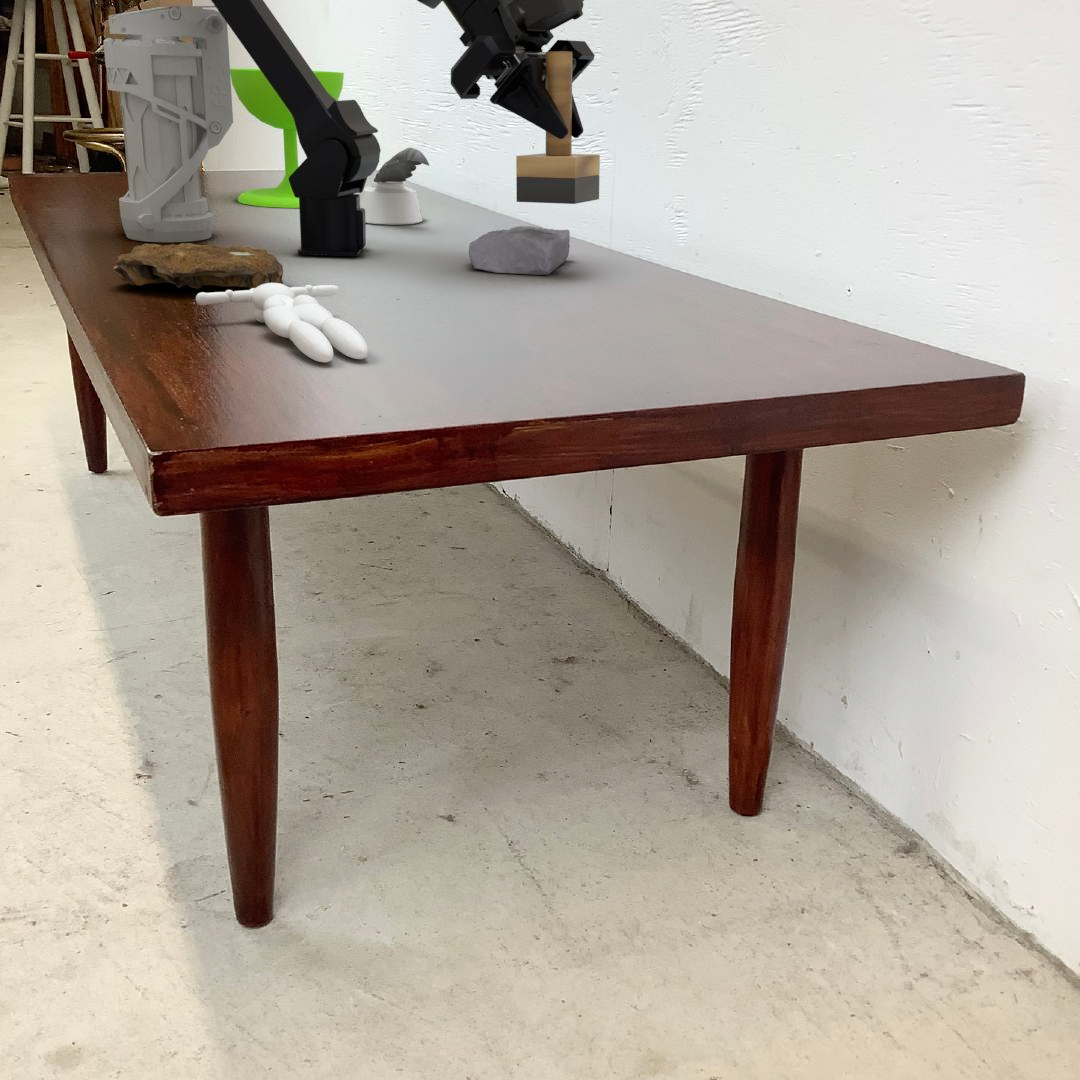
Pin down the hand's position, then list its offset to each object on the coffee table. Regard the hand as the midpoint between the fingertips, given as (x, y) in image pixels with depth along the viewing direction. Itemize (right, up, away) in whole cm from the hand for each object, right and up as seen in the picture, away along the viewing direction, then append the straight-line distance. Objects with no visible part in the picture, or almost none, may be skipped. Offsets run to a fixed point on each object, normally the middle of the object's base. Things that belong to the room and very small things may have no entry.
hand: (572, 135), depth 115 cm
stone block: (-6, -10, +11) cm, 16 cm away
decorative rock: (-35, -17, -7) cm, 39 cm away
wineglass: (-40, +10, +57) cm, 70 cm away
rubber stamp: (-1, -6, +3) cm, 7 cm away
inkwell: (-21, +1, +38) cm, 43 cm away
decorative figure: (-22, -25, -25) cm, 41 cm away
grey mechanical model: (-46, -4, +22) cm, 51 cm away
